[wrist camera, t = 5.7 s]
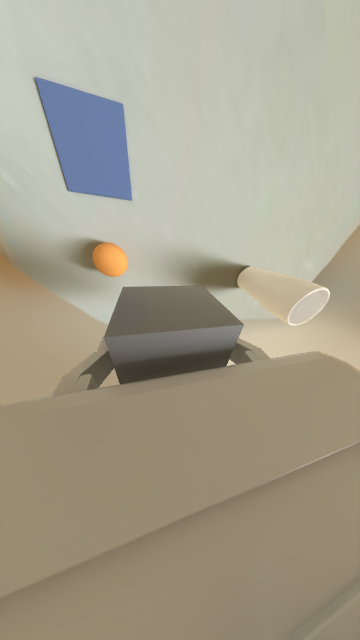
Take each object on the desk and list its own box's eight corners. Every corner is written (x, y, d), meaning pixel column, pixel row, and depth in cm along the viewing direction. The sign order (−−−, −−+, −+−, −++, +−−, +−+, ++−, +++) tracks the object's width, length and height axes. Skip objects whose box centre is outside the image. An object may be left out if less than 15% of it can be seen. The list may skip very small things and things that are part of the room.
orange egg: (94, 239, 21) (82, 243, 17) (126, 242, 22) (123, 245, 18) (102, 271, 24) (93, 280, 20) (130, 272, 25) (128, 281, 21)
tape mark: (36, 78, 13) (34, 76, 12) (122, 105, 14) (122, 103, 14) (69, 191, 17) (68, 190, 17) (132, 200, 19) (131, 200, 19)
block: (122, 286, 11) (103, 337, 5) (202, 285, 12) (243, 324, 7) (134, 347, 14) (129, 409, 9) (193, 340, 16) (215, 390, 11)
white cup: (261, 259, 29) (341, 281, 18) (256, 287, 34) (316, 320, 22) (234, 266, 29) (297, 294, 17) (232, 293, 33) (280, 330, 21)
